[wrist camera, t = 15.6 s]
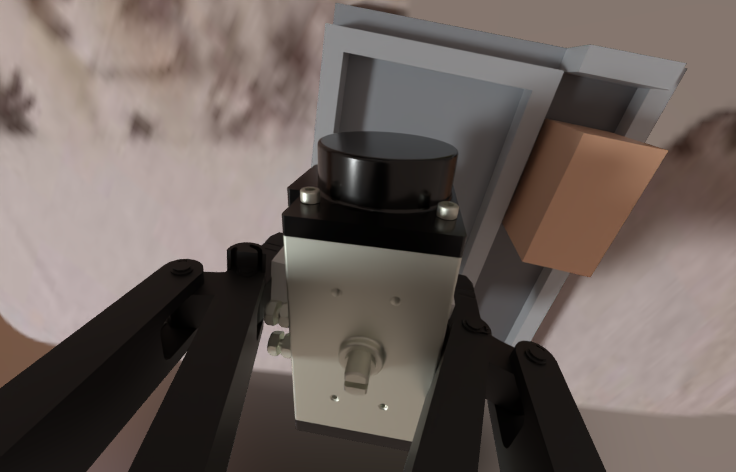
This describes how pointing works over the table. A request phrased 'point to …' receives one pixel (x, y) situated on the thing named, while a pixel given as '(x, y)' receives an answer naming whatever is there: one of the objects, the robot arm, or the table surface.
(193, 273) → the robot arm
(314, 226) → the pneumatic valve
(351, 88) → the grey tray
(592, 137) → the tan cardboard box
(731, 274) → the table surface
